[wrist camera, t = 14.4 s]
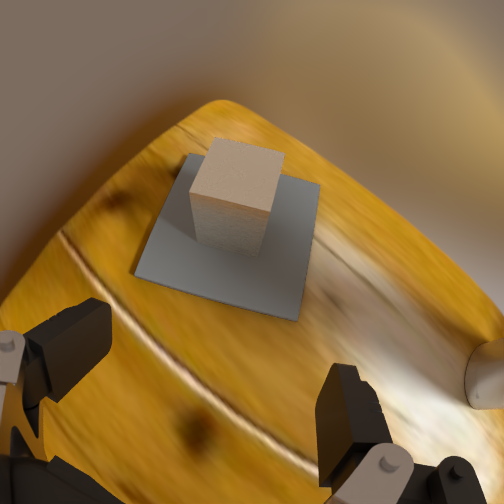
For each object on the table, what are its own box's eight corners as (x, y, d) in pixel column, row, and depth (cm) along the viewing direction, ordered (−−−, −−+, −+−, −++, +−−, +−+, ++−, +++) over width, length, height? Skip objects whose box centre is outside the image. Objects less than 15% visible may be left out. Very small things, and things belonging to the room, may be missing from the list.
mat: (318, 187, 32) (326, 171, 30) (296, 321, 26) (304, 315, 23) (189, 156, 33) (187, 138, 30) (135, 277, 26) (126, 265, 23)
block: (270, 208, 30) (285, 153, 22) (257, 258, 27) (270, 211, 20) (215, 194, 30) (214, 136, 22) (197, 242, 28) (188, 191, 20)
